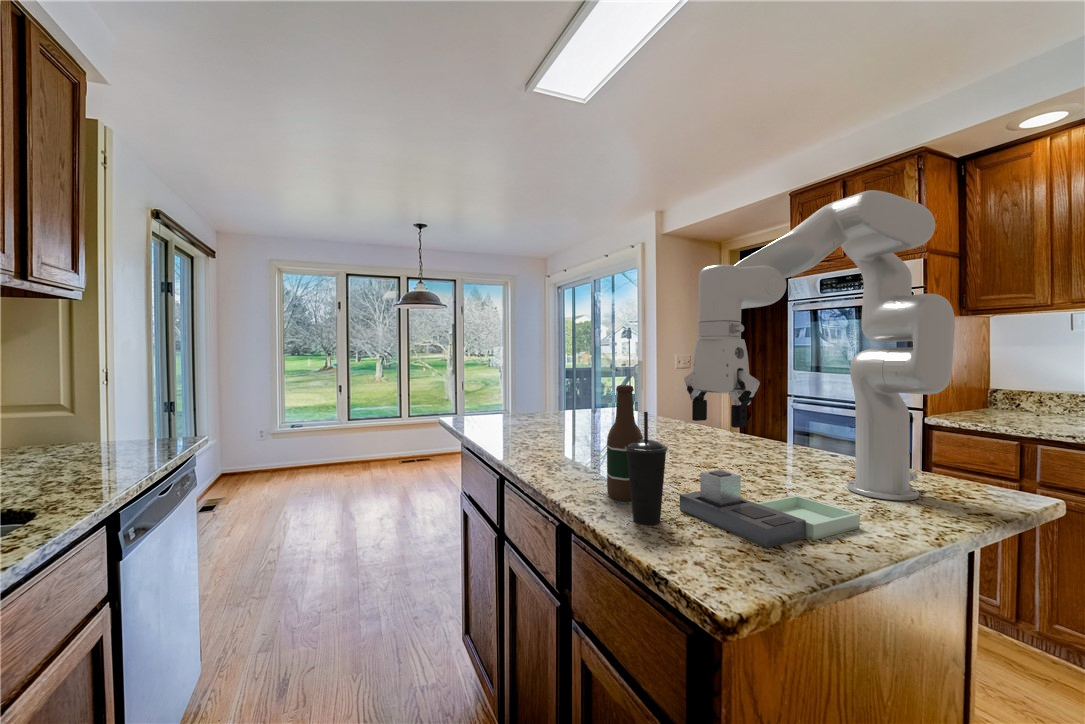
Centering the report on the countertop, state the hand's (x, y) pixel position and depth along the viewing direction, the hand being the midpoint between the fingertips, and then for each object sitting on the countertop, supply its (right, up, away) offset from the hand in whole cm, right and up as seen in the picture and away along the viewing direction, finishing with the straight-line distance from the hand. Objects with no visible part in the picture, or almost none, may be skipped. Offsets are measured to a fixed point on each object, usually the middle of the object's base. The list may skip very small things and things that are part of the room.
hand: (718, 423), depth 86 cm
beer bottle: (-15, -18, +13) cm, 27 cm away
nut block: (+1, -18, 0) cm, 18 cm away
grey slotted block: (+2, -18, -3) cm, 18 cm away
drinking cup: (-14, -18, -2) cm, 23 cm away
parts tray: (+14, -17, -3) cm, 23 cm away
